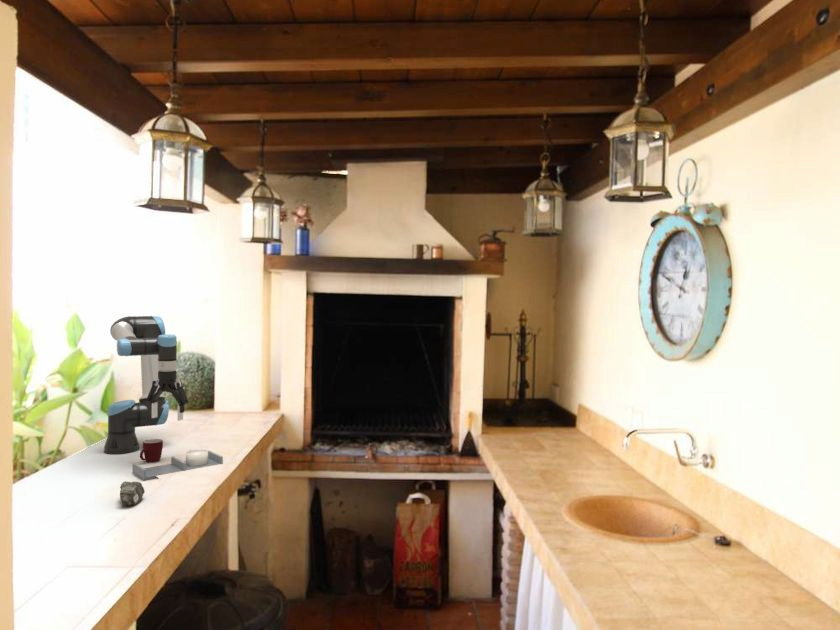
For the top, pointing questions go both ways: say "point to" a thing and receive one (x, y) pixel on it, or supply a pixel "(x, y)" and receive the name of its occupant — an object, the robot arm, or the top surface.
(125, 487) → the stone
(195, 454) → the white egg shape
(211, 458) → the rack
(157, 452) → the red cup
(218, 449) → the top surface
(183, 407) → the robot arm
